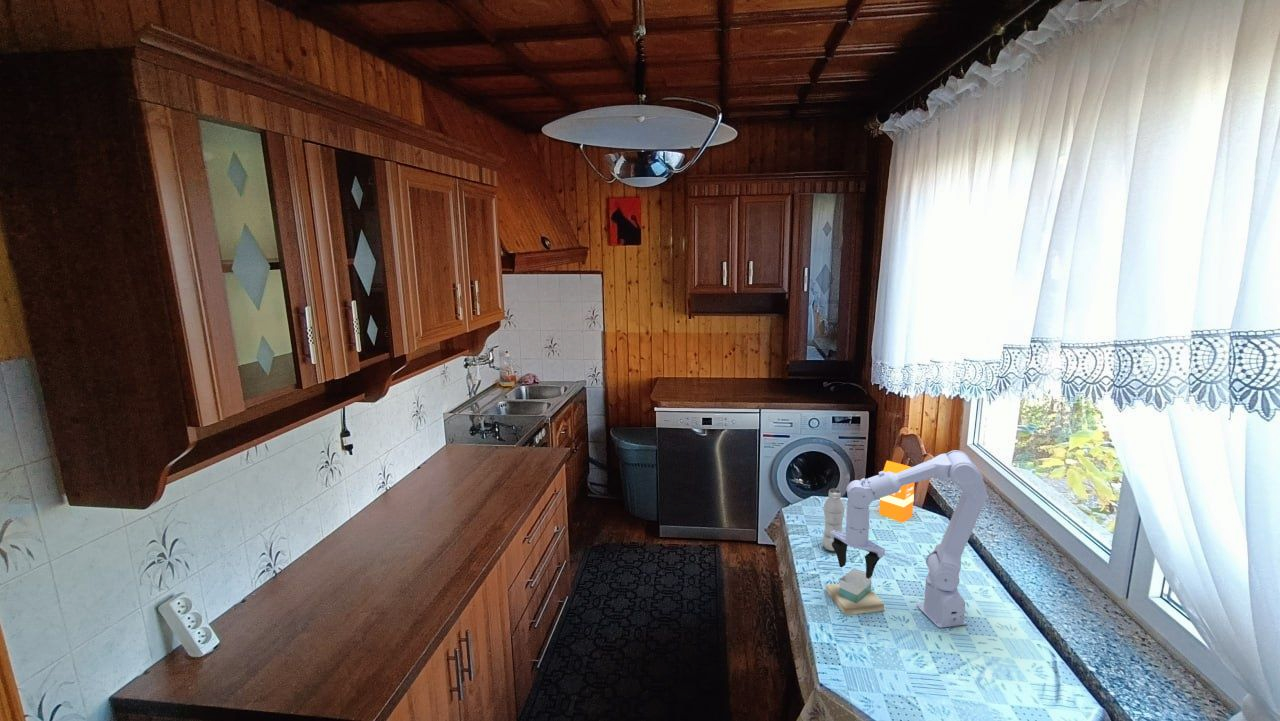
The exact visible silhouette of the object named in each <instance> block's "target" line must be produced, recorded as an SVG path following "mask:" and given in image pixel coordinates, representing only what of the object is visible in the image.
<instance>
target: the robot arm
mask: <svg viewBox="0 0 1280 721" xmlns="http://www.w3.org/2000/svg"><path fill="white" fill-rule="evenodd" d="M910 467H911V468H909V469H906V470H904V471H901V472H899V473H893V472H890V471H887V472H885V473H884V471H883V470H881V471H879V472H878V474H877V475H873V476H870V477H868V478H865V477H862V478H861V479H855V480H851V481H850V482H849V483H848V485H847V487H845V488H846V493H847V503H846V504H847V507H846V513H845V515H846V516H845V518H846V520H845V524H846V525H845V532H843V531H842V532H839V531H835V530H833V531H832V532H830V539H832V540H834V542H832V547H833V549H834V550H835V552H834V553H835V555H836V557H837V561H838V565H839V568H843V567H845V566H846V565H847V564H846V563H847V550H848V547H850V548H854V549H859V550H863V551H866V552H868V553H867V554H866V555H864V561H865V569H866V570H865V573H866V578H868V579H869V578H870V577H871V578H872V576H873V574H874V571H875V568H876V566H877V563H878V561H879V560H880V559H881V558H883V557H885V554H886V553H885V552H886V548H884V547H882V546H880V545H878V544H877V543H875V542H873V541H871V540H870V539H869V532H870V530H869V528H870V505H871V504H872V502H873V501H876V500H880V498H883V497H886V496H889V495H892V494H895V493H898V492H899V490H900V488H901V487H902V486H904V485H907V484H911V483H914V484H915V483H917V482H918V483H919V482H922V481H926V480H929V479H933V478H934V479H936V480H940V481H943V482H945V483H949V479H950V480H951V481H952V482H953V483H954V484H955V486H957V487H958V488H960V489H961V491H962V492H961V495H960V497H959V499H958V502H957V504H956V507H955V509H954V511H953V513H952V516H951V518H950V521H949V522H948V525H947V528H946V530H945V532H944V534H943V537H942V539H941V540H940V541H941V542H940V543H939V544H937V545H935V547H934V549H933V550H932V551H931V552H930V553H928V555H927V556H926V559H925V564H926V567H927V568H928V570H929V571H928V573H927V575H926V576H925V584H924V586H925V587H924V602H922V603H917V604H916V607H917V608H918V609H919V610H920V611H921V612H922V613H923V614H924V615H925V616H926V617H927V618H928V619H929V620H930V621H931V622H932V623H933V624H934V625H935V626H936V627H937V628H947V627H948V628H949V627H957V626H965V625H967V623H968V622H967V621H965V610H966V601H965V599H964V598H963V596H962V595H961V593H960V592H959V590H958V586H959V585H960V571H961V569H962V567H961V566H962V555H963V553H964V550H965V548H966V547H967V546H966V545H967V544H968V543H969V542H968V541H969V539H970V537H971V535H972V532H973V531H974V527H975V526H976V523H977V520H978V518H979V516H980V514H981V512H982V509H983V507H984V505H985V503H986V501H987V499H988V492H987V488H986V485H985V481H984V476H983V474H982V473H981V471H980V470H979V468H978V467H977V466H976V464H975V462H974V461H973V460H972V459H971V458H970V456H969V455H968V454H967V453H966V452H965V451H962V450H958V449H957V450H955V449H954V450H950V451H948V452H947V453H945V452H944V453H941V454H940V453H939V454H938V455H937V456H935V457H933V458H931V459H929V460H926V461H923V462H921V463H918V464H916V465H914V466H910Z"/></svg>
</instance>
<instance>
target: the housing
mask: <svg viewBox="0 0 1280 721" xmlns="http://www.w3.org/2000/svg"><path fill="white" fill-rule="evenodd" d="M839 583H840V586H839V596H841V597H843V598H845V599H847V600H849V601H852V602H854V603H856V604H857V603H858V602H859V601H860V600H861V599H862V598H864V597H865V596H866V595H867V594H868V593H869V592H870V591H871V590H872V588H871V587H872V586H871V585H872V577H870V578H869V579H868V578H866V571H862V570H860V569H858V568H856V567H853V568H852V569H851V570H850V571H848V572H847V573H846V574H845V575H843V576H842V577H841V578H840V579H839Z"/></svg>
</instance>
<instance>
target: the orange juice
mask: <svg viewBox="0 0 1280 721" xmlns="http://www.w3.org/2000/svg"><path fill="white" fill-rule="evenodd" d="M911 467H912V466H909V465H906V464H902V463H899V462H898V463H897V462H894V461H891V460H886V462H885V464H884V468H883V470H882V471H884V473H885V472H887V471H890V472H893V473H899V472H901V471H904V470H906V469H909V468H911ZM914 496H915V483H911V484H907V485H904V486H902V487H901V488H900V490H899V492H898V493H895V494H892V495H889V496H886V497H883V498H880V499H879V506H878V508H879V511H878V515H879V514H880V515H879V516H881V515H883V516H882V517H884V516H886V517H885V518H887V517H889V518H888V519H890V518H892V519H891V520H893V519H894V520H893V521H896V522H899V523H902V524H903V523H905V522H906V521H907V520H909V519H911V518H912V517H913V512H914V511H913V510H914V501H915V500H914Z"/></svg>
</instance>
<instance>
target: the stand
mask: <svg viewBox="0 0 1280 721" xmlns="http://www.w3.org/2000/svg"><path fill="white" fill-rule="evenodd" d="M839 586H840V582H839V583H832V584H831V583H830V584H826V585H825V589H826V590H825V592H826V593H827V594H828V595H829V597H830V598H831V599H832V601H833V602H834V603H835V605H836V606H837V608H839V610H840V611H841V612H842V614H844V616H849V615H858V614H859V615H861V614H865V613H866V614H867V613H869V614H870V613H878V612H884V611H885V603H884V602H883V601H882V600H881V599H880V598H879V597H878V595H876V594H875V592H874V591H872V589H871V591H870V592H869V593H868V594H867V595H866V596H865V597H864V598H862V599H861V600H860V601H859V602H858V603H857V604H856V603H854V602H852V601H849V600H847V599H845V598H843V597H841V596H839Z"/></svg>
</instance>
